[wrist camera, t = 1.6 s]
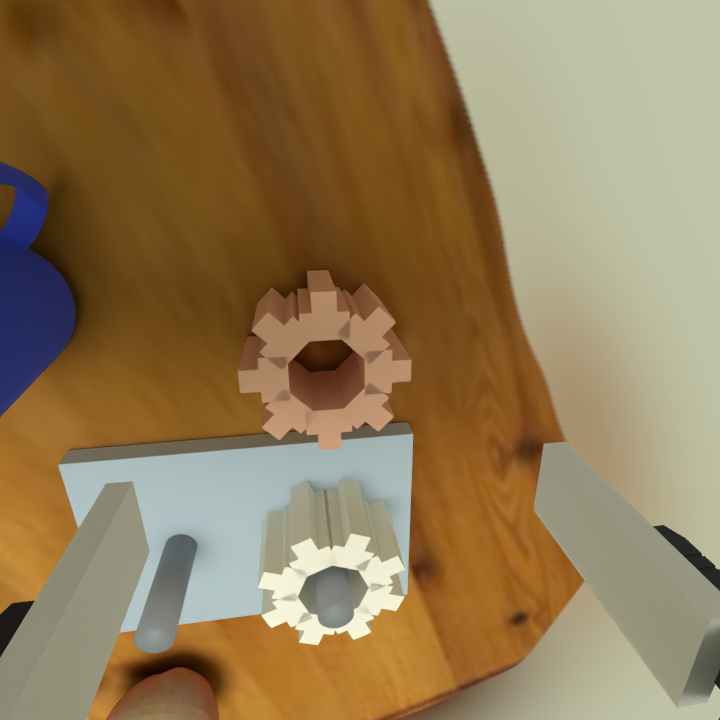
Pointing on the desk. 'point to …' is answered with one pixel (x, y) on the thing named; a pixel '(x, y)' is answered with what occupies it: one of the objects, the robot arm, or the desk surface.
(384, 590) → the gear
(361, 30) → the desk surface
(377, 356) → the loose gear
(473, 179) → the desk surface
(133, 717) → the fruit
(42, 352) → the mug
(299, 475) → the gear board
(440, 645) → the desk surface
